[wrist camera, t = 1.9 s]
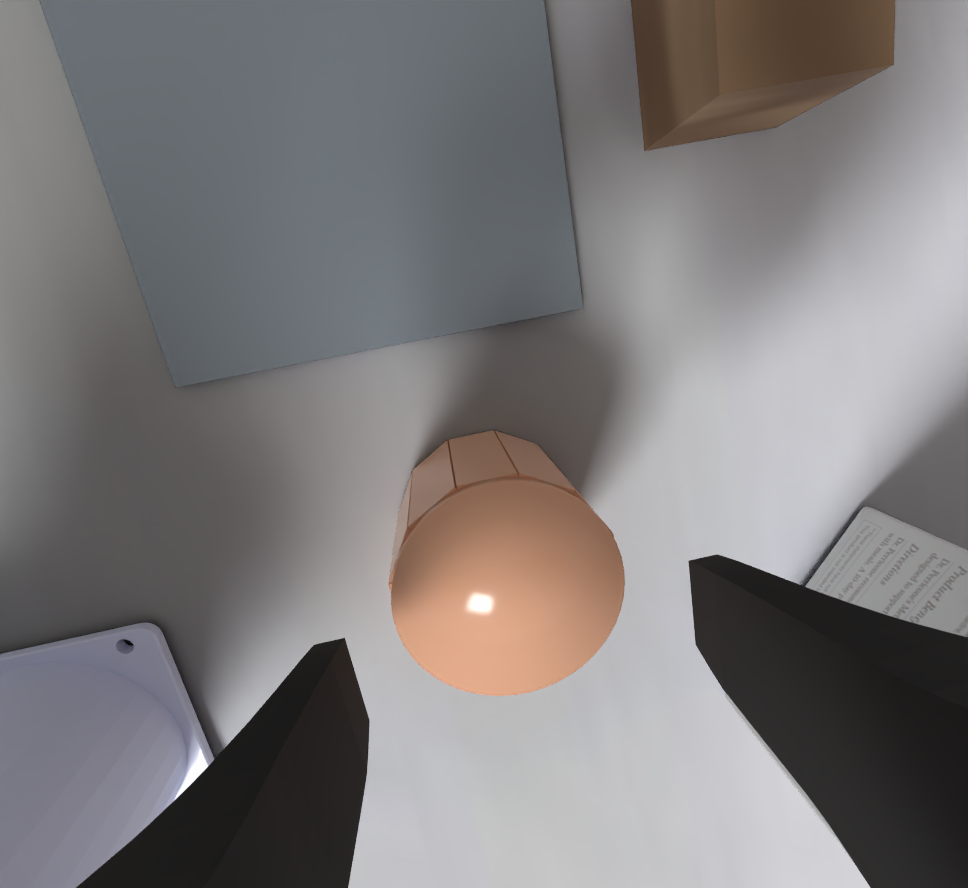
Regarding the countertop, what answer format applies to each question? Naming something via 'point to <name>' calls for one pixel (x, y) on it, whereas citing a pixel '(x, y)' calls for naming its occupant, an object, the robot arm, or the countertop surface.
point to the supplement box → (891, 584)
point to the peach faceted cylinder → (501, 568)
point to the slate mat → (324, 170)
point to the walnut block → (750, 61)
